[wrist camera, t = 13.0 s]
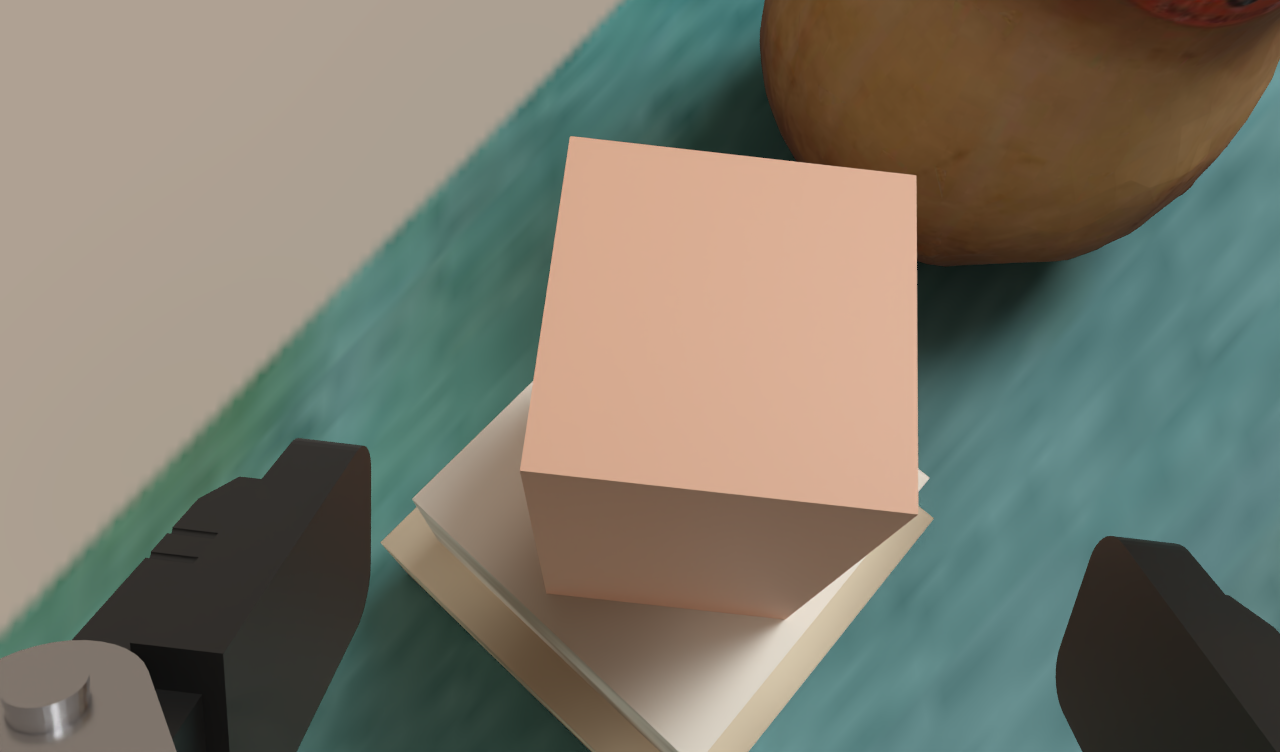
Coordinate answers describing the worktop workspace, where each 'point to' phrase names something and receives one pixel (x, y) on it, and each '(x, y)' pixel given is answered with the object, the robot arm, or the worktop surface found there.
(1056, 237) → the butternut squash
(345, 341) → the worktop surface
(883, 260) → the salmon pink rectangular block
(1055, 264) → the worktop surface
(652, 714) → the beige stepped block
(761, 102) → the worktop surface
